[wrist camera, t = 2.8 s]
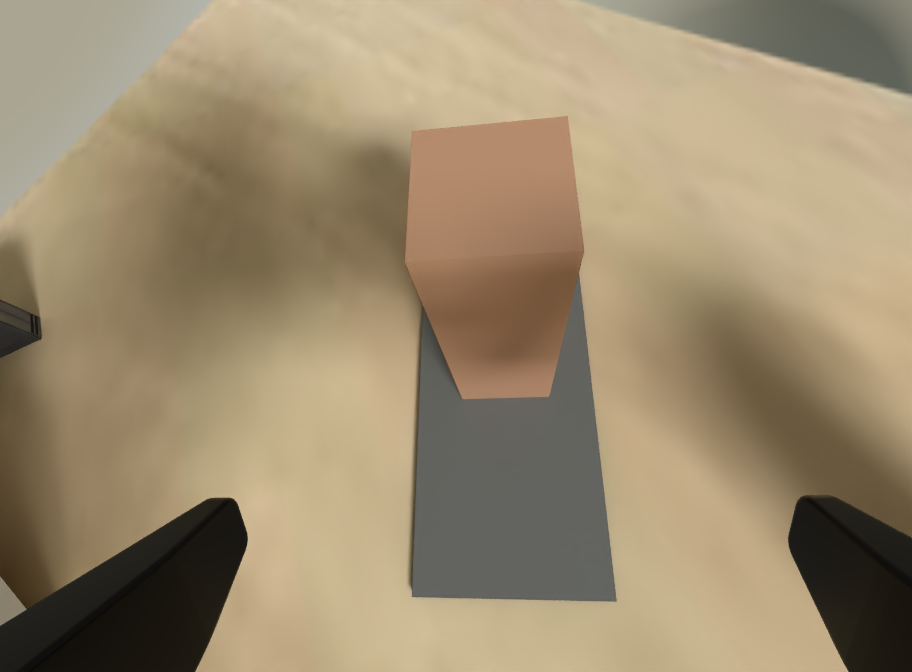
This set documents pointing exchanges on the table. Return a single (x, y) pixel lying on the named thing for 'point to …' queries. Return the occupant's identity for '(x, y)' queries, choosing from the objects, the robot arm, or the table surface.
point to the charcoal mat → (511, 485)
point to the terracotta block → (496, 250)
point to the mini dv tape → (17, 328)
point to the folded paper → (8, 603)
